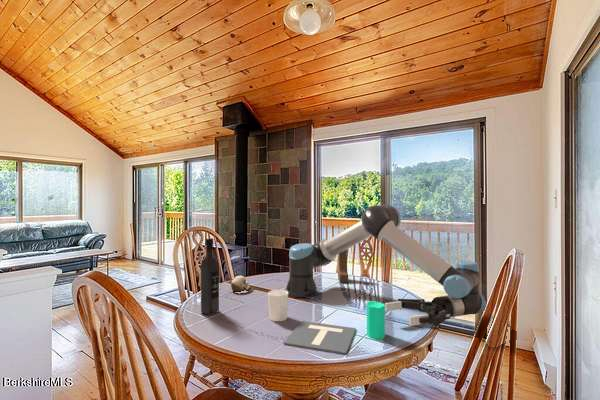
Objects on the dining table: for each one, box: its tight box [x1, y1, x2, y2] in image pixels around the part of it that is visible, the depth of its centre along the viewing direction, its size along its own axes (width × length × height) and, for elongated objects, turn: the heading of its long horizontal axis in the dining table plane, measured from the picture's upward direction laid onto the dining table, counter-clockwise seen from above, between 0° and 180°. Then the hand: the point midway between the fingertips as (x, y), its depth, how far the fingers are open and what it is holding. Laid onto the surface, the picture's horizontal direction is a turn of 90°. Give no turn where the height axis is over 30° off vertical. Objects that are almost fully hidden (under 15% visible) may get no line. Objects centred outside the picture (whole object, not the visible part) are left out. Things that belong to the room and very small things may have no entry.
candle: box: [366, 299, 386, 340], centre depth 103 cm, size 6×6×12 cm
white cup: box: [267, 289, 289, 323], centre depth 119 cm, size 8×8×10 cm
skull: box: [230, 275, 254, 293], centre depth 155 cm, size 12×10×10 cm
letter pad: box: [283, 320, 357, 355], centre depth 103 cm, size 20×18×1 cm
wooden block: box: [337, 249, 349, 284], centre depth 172 cm, size 9×4×18 cm, turn 179°
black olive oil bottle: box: [200, 238, 220, 315], centre depth 125 cm, size 6×6×30 cm
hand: (397, 313), depth 106 cm, fingers open, 13 cm apart
